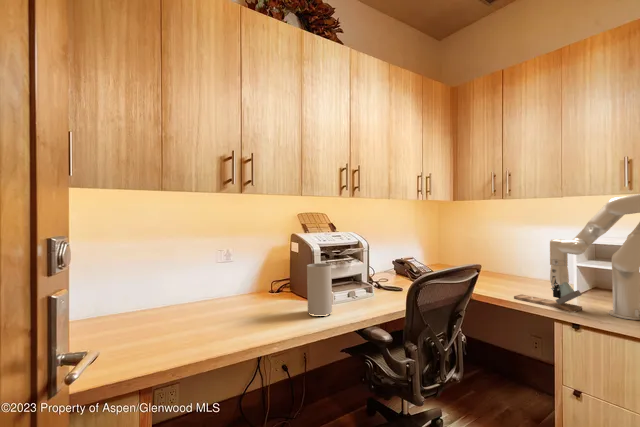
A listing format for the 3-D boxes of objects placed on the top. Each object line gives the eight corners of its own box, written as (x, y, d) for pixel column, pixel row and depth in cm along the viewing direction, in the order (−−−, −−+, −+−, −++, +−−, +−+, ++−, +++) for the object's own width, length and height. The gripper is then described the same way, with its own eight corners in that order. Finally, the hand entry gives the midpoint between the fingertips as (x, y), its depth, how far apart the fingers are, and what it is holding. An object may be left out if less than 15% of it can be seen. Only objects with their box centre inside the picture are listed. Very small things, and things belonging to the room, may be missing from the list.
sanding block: (582, 294, 164) (570, 279, 168) (576, 296, 161) (564, 281, 165) (564, 302, 170) (553, 288, 175) (558, 304, 167) (547, 289, 172)
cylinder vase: (316, 308, 173) (315, 262, 173) (336, 312, 166) (335, 264, 166) (302, 315, 162) (302, 265, 162) (323, 319, 155) (322, 267, 156)
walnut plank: (582, 309, 164) (582, 306, 164) (574, 311, 161) (574, 308, 161) (521, 296, 191) (521, 294, 191) (513, 298, 187) (513, 296, 187)
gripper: (558, 264, 163) (559, 300, 163) (574, 262, 171) (574, 296, 171) (542, 263, 169) (543, 297, 169) (558, 260, 177) (558, 293, 177)
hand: (559, 296), depth 170 cm, fingers closed on sanding block, 4 cm apart
